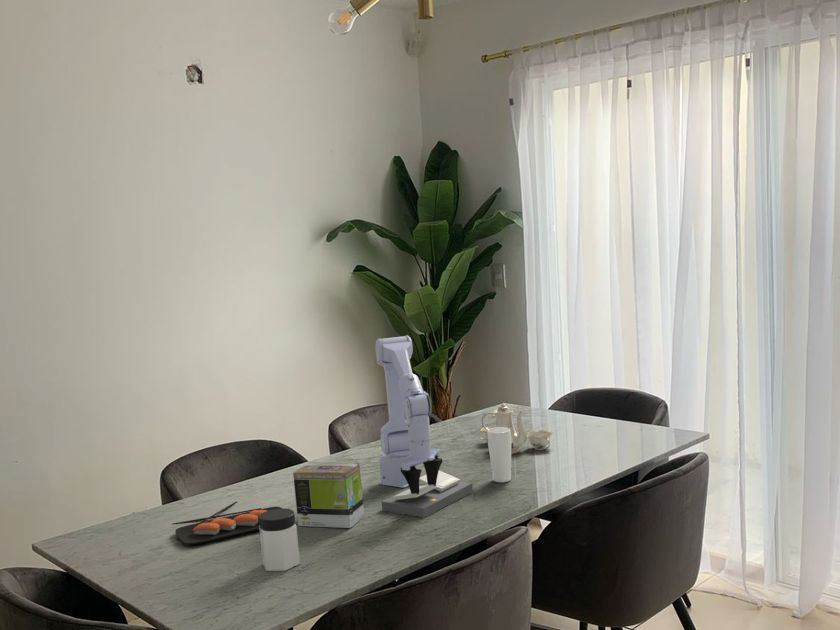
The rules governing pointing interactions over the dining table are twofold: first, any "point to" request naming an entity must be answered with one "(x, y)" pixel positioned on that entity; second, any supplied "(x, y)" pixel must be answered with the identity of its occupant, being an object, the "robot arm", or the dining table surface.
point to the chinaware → (517, 440)
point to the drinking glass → (500, 453)
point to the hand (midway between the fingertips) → (423, 489)
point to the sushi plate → (220, 526)
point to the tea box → (329, 495)
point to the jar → (278, 539)
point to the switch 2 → (442, 481)
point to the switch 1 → (408, 494)
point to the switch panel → (427, 500)
